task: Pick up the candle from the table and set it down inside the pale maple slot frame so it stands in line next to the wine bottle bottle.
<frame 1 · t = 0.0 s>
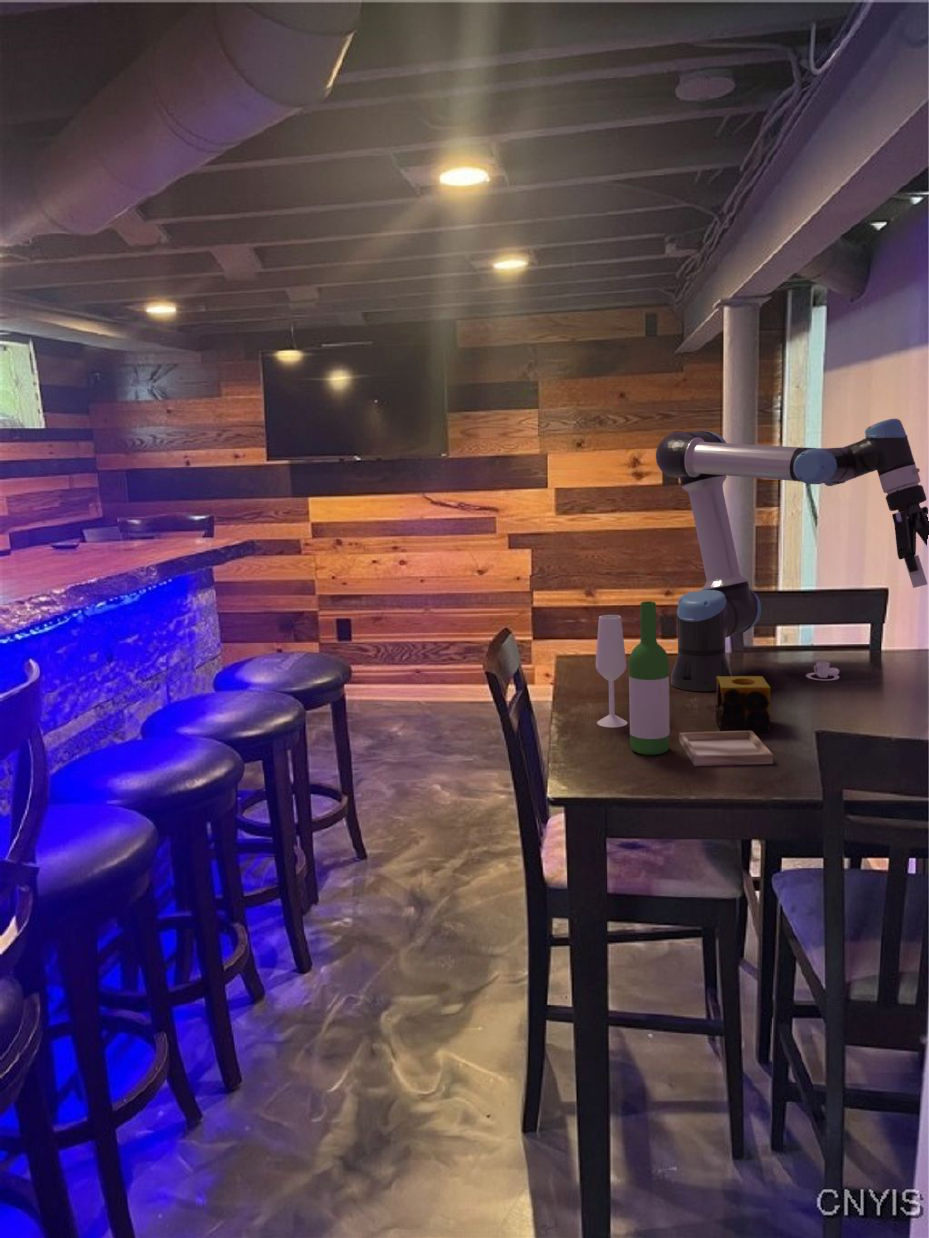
candle: (741, 727, 182), on the table
wine bottle: (649, 750, 170), on the table
teacup and saucer: (835, 680, 216), on the table
slot frame: (724, 751, 167), on the table
champagne flute: (612, 723, 189), on the table
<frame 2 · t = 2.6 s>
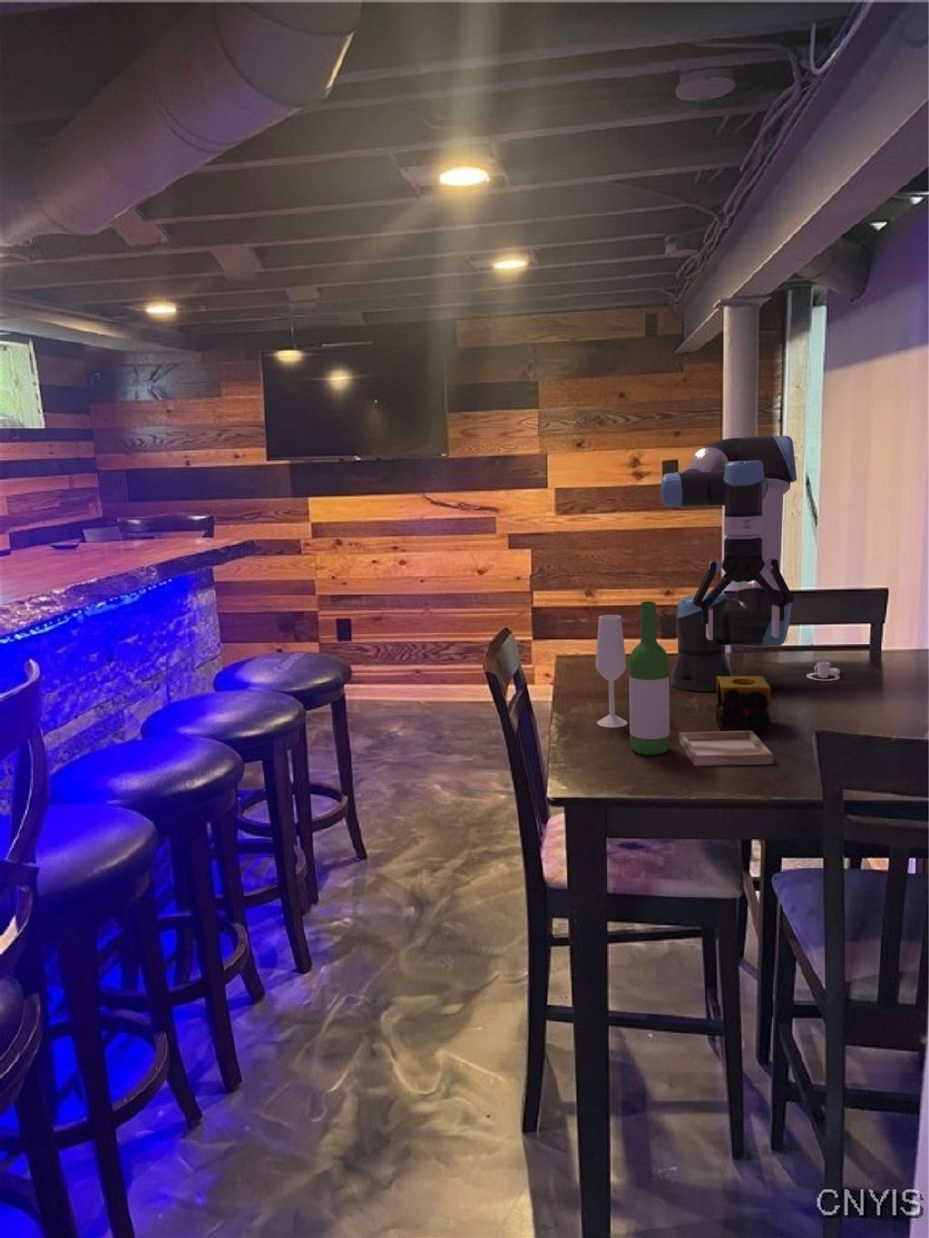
hand: (742, 637, 178), 19 cm above the table, tool pointing down, fingers open, 13 cm apart
nothing on the table moved.
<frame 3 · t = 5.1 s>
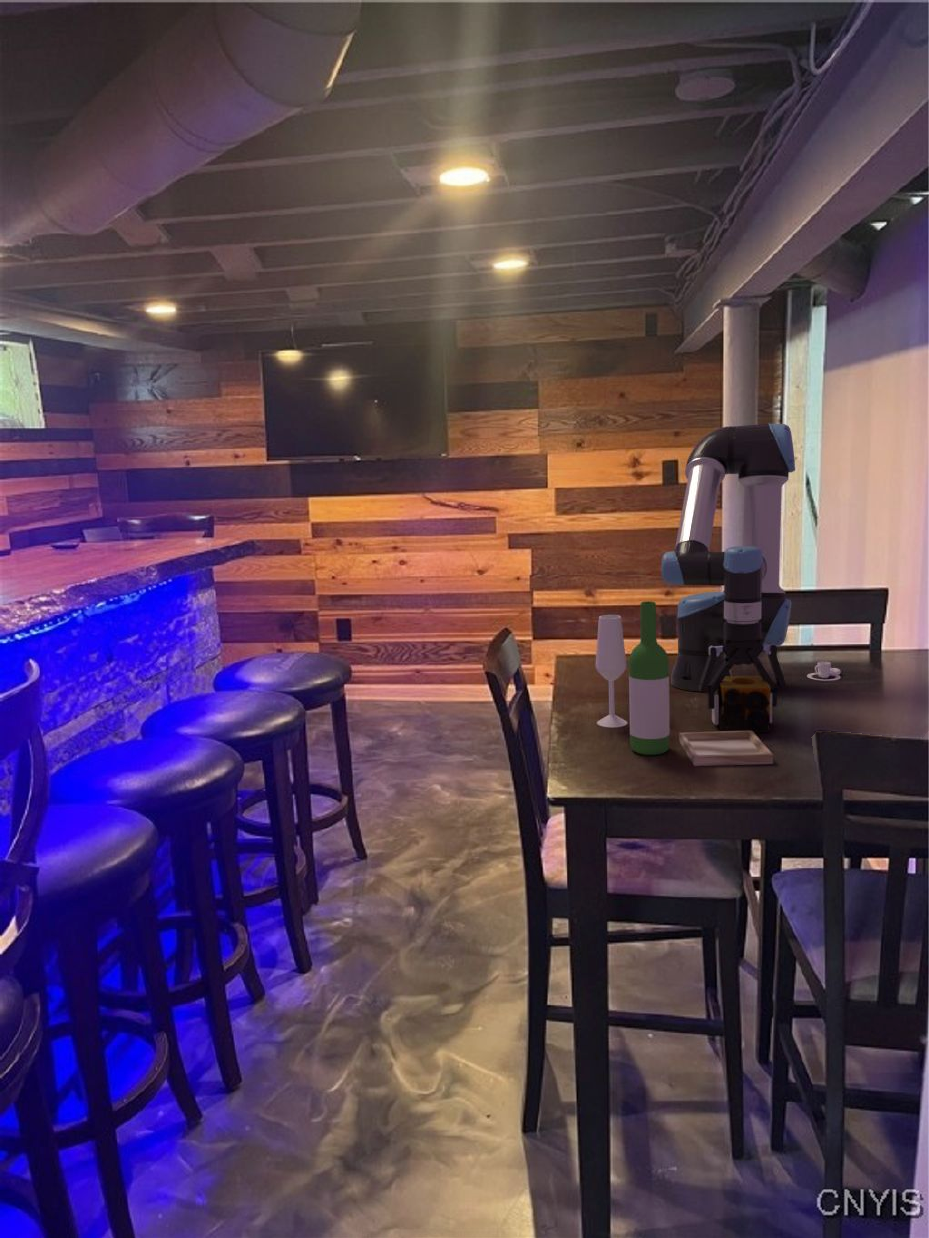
hand: (741, 721, 182), 1 cm above the table, tool pointing down, fingers closed on candle, 10 cm apart
candle: (741, 726, 182), on the table, touching gripper
everything else where it was.
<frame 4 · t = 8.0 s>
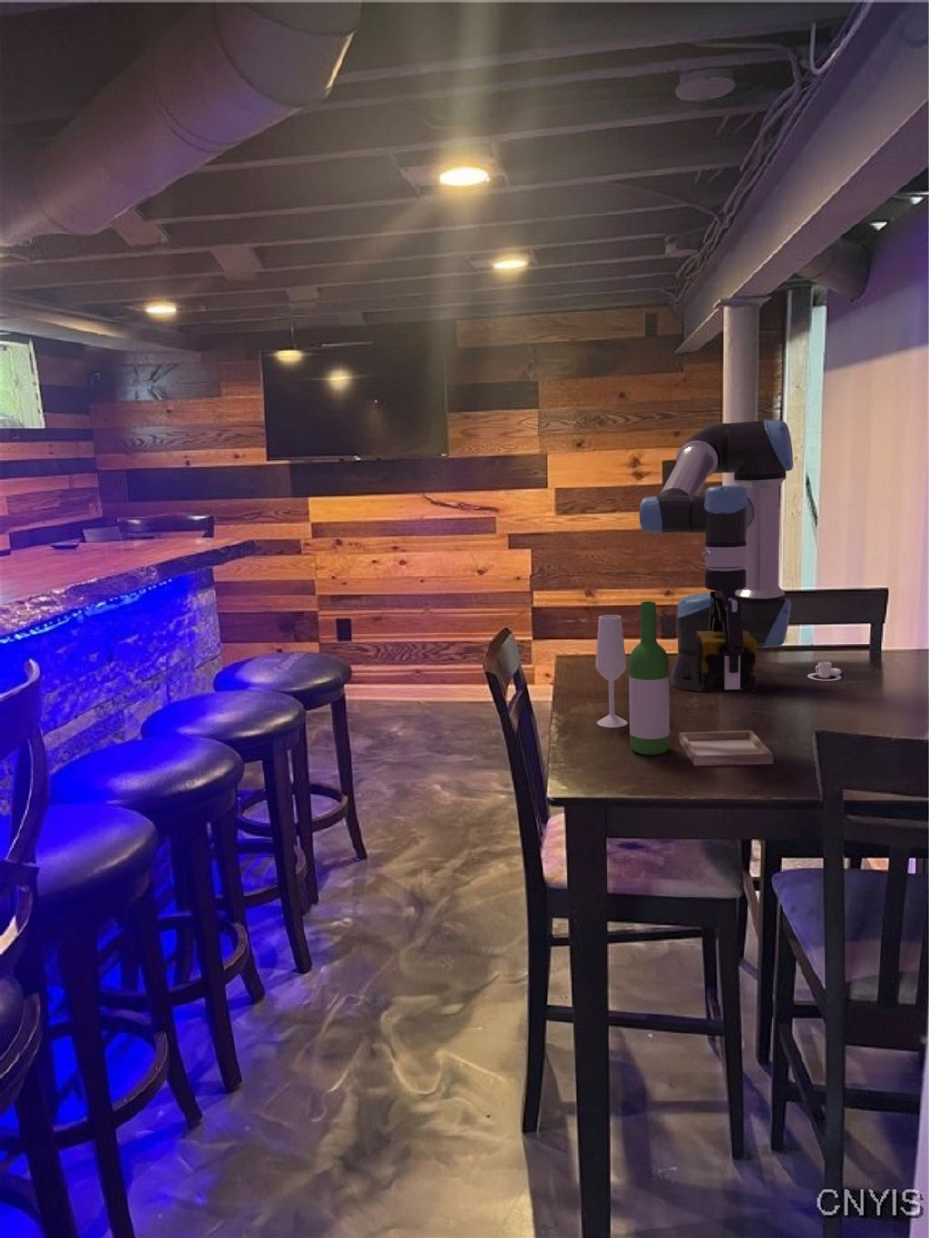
hand: (724, 681, 164), 14 cm above the table, tool pointing down, fingers closed on candle, 10 cm apart
candle: (724, 686, 165), point 13 cm above the table, touching gripper
everything else where it was.
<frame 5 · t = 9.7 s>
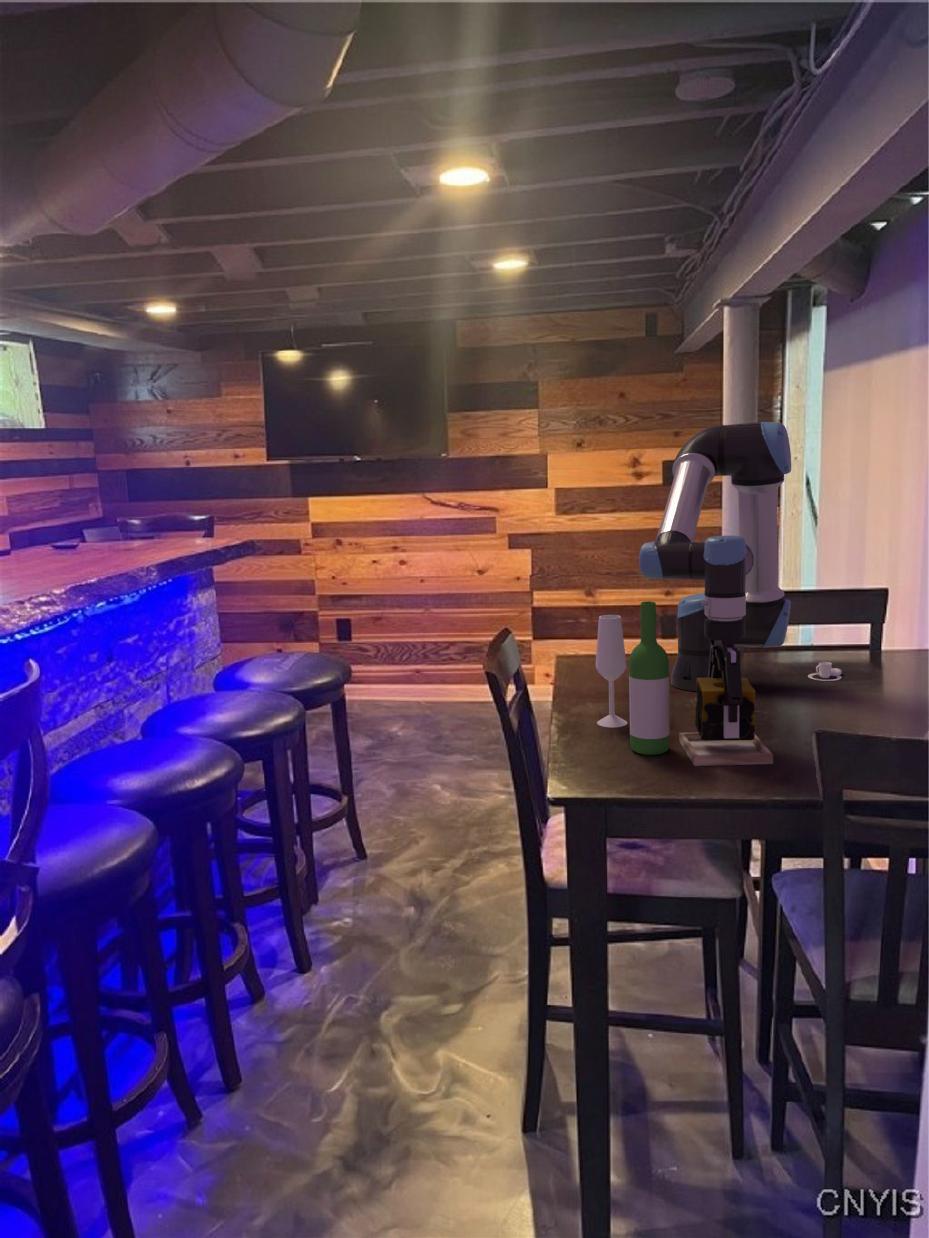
hand: (724, 728, 166), 5 cm above the table, tool pointing down, fingers closed on candle, 10 cm apart
candle: (724, 733, 166), point 4 cm above the table, touching gripper
everything else where it was.
when the fingers open (3 cm above the table, at t = 11.0 s): candle drops 2 cm, resting on slot frame.
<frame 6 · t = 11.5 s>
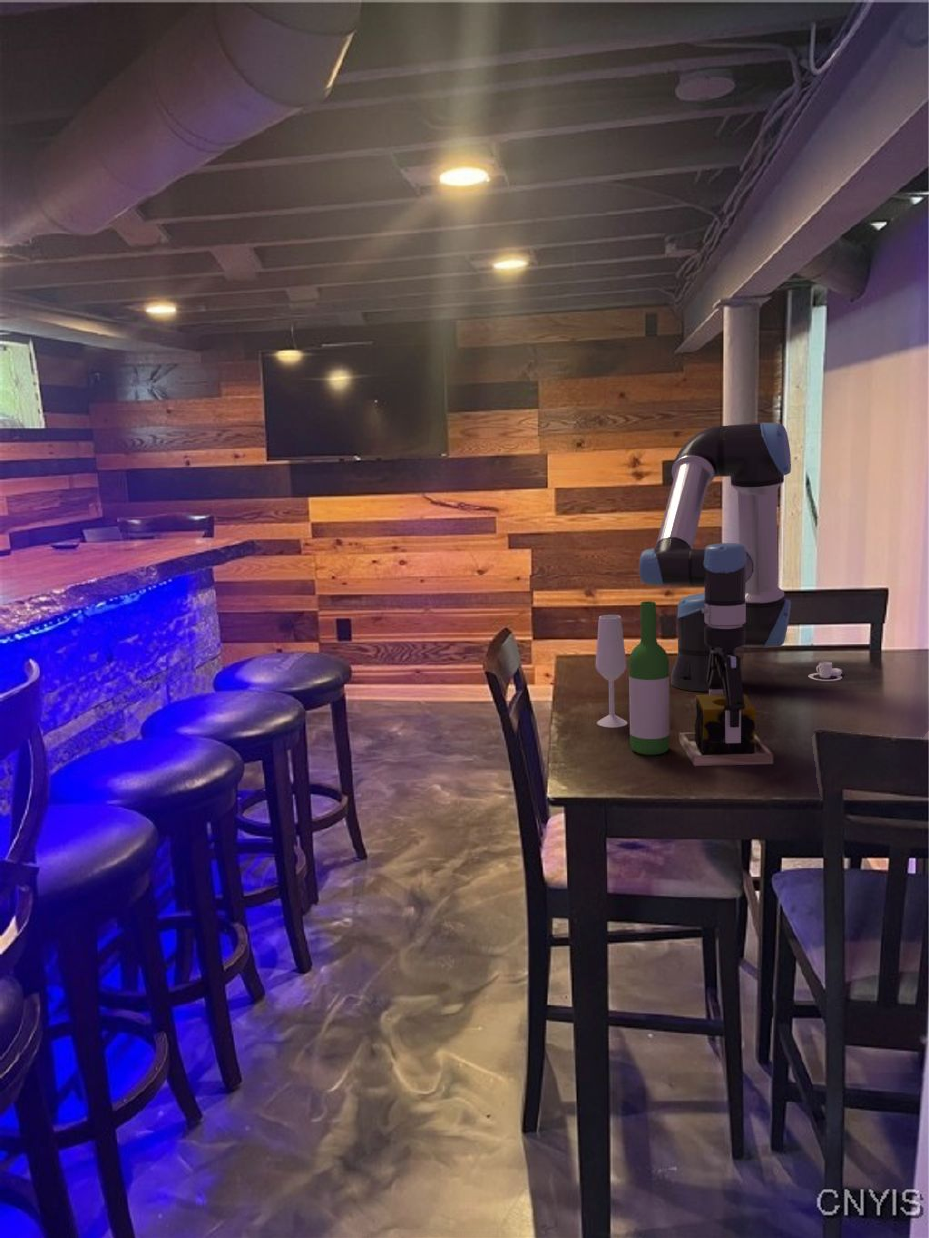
hand: (724, 731, 166), 4 cm above the table, tool pointing down, fingers open, 13 cm apart
candle: (723, 751, 167), resting on slot frame
everything else where it was.
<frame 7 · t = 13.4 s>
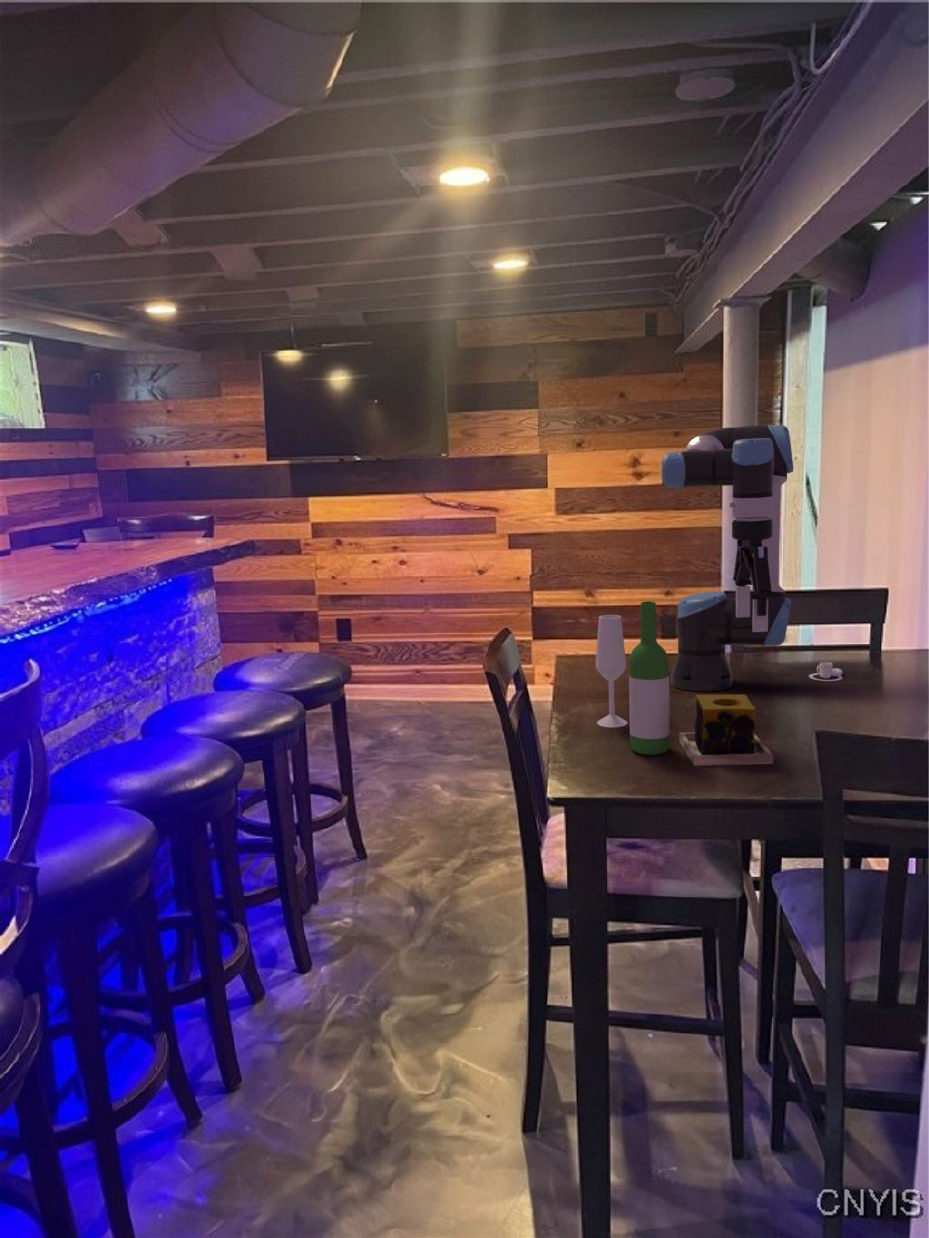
hand: (751, 624, 171), 24 cm above the table, tool pointing down, fingers open, 13 cm apart
nothing on the table moved.
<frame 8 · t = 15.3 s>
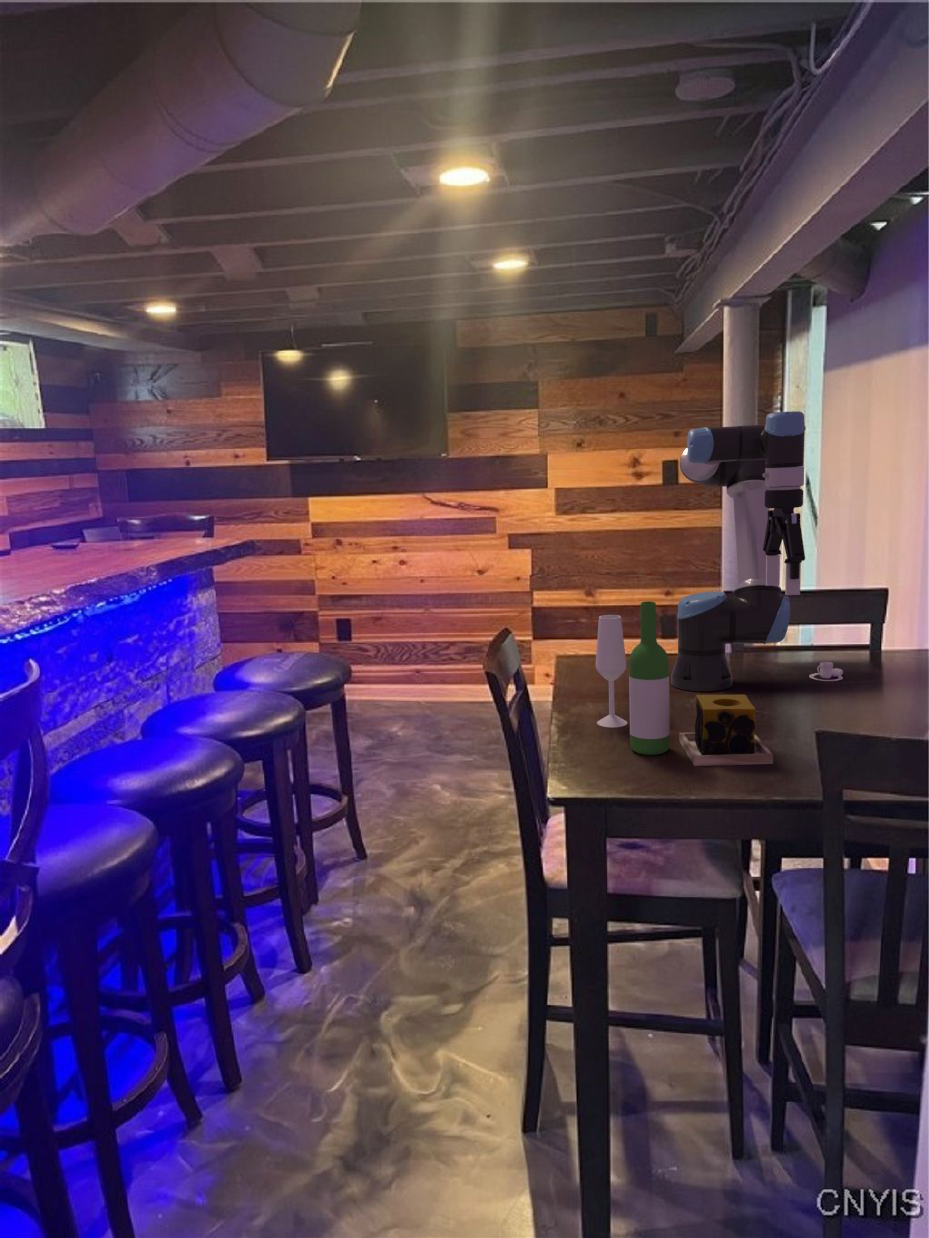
hand: (782, 590, 179), 29 cm above the table, tool pointing down, fingers open, 13 cm apart
nothing on the table moved.
at the end: candle 0.0 cm off-centre on the slot frame, point 0.2 cm above the slot frame's base; candle tilted 0°; the gripper is holding nothing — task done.
